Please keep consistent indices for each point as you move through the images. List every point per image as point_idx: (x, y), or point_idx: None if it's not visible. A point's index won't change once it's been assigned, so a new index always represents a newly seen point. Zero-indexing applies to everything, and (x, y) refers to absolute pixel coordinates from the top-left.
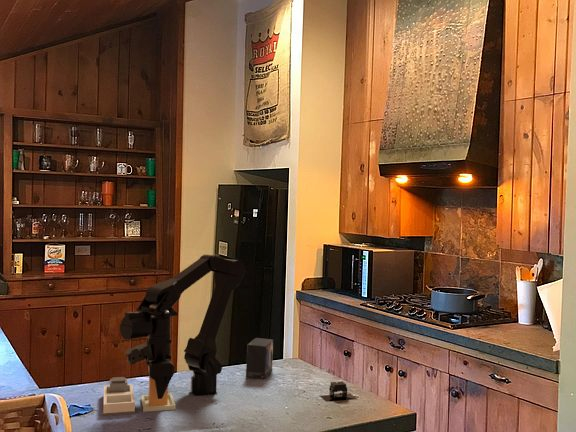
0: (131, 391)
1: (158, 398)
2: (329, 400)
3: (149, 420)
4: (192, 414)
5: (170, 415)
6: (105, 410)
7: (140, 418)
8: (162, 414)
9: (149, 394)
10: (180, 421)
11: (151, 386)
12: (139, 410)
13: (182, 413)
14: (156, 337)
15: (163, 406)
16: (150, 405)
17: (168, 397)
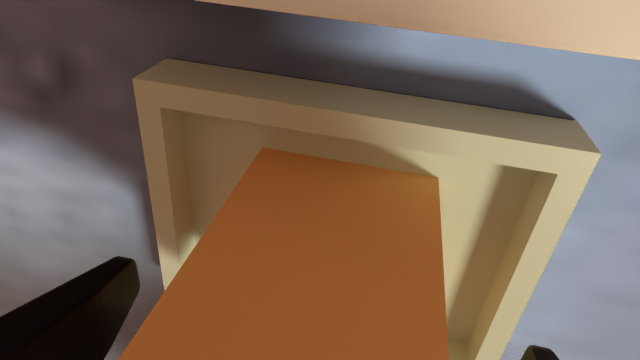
0: (594, 18)
1: (119, 260)
2: None
3: (7, 72)
4: (127, 334)
5: (116, 233)
6: None
7: (50, 4)
8: (141, 195)
9: (329, 226)
10: (8, 248)
11: (158, 320)
12: (279, 40)
13: (149, 301)
14: None
15: (157, 243)
16: (255, 161)
17: (470, 342)
